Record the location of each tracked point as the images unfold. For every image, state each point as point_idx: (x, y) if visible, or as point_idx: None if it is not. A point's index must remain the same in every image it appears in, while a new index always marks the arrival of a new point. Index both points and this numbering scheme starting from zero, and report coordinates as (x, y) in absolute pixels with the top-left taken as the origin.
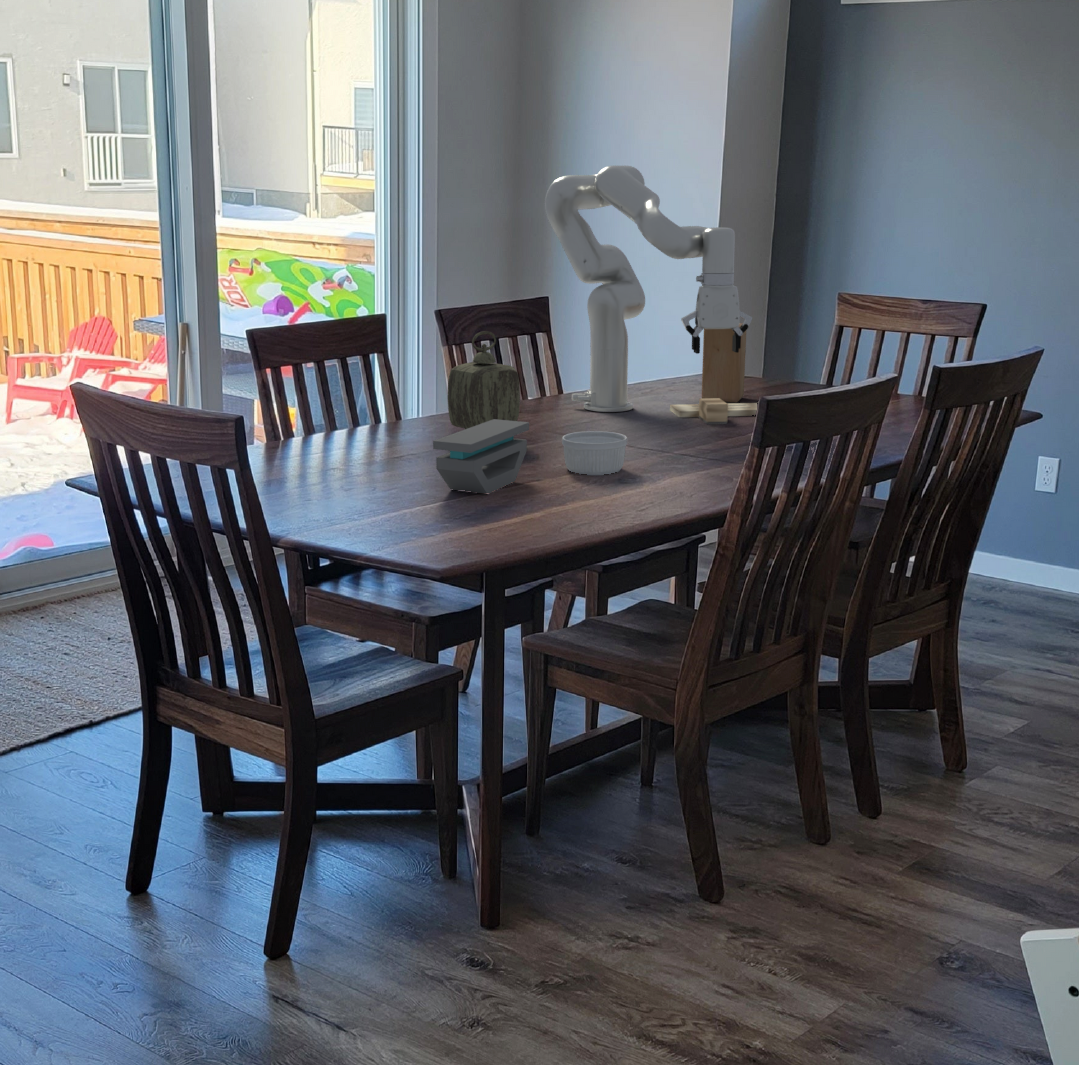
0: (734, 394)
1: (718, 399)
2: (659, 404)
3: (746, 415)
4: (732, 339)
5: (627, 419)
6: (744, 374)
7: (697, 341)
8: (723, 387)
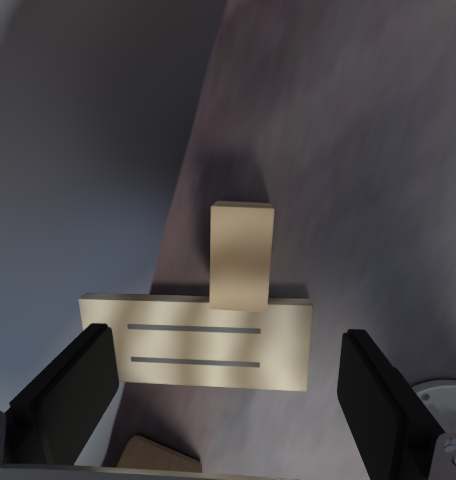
0: (134, 450)
1: (217, 289)
2: (302, 449)
3: (147, 295)
4: (80, 452)
5: (447, 294)
6: None
7: (406, 387)
8: None
